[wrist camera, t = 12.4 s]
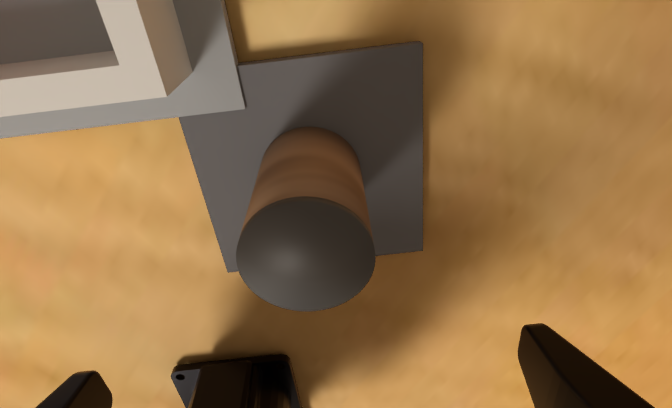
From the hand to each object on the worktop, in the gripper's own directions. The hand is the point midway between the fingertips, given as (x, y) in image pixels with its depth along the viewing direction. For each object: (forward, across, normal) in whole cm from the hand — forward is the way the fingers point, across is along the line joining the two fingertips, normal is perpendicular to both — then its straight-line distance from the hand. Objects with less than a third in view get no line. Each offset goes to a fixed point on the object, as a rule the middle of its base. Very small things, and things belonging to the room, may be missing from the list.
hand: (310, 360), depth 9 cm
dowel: (+9, 0, 0) cm, 9 cm away
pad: (+10, 0, 0) cm, 10 cm away
